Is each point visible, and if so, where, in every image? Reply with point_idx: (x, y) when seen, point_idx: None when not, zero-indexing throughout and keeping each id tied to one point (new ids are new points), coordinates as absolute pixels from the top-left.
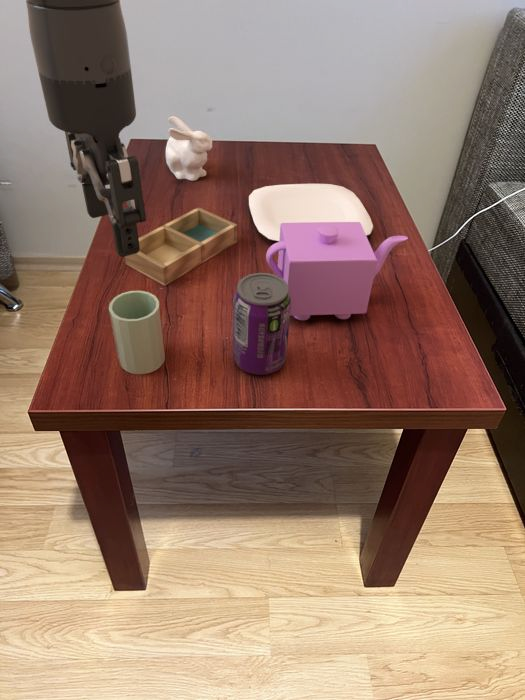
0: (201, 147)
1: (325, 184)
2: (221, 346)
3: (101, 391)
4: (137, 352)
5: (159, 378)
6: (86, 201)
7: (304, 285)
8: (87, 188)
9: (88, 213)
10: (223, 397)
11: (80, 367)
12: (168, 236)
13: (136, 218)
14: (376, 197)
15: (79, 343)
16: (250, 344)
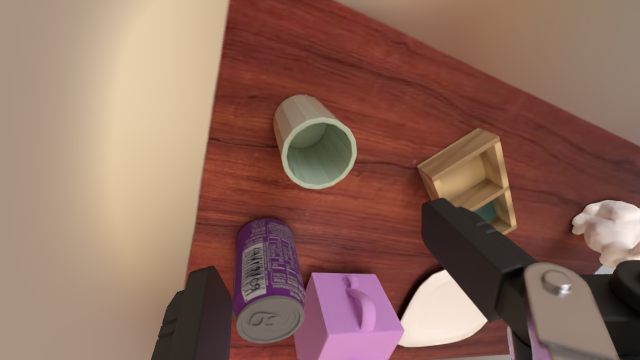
0: (608, 255)
1: (482, 325)
2: (295, 207)
3: (255, 63)
4: (276, 129)
5: (261, 137)
6: (461, 228)
7: (315, 317)
8: (491, 273)
9: (438, 201)
10: (215, 197)
11: (308, 40)
12: (490, 187)
13: None
14: (446, 348)
15: (356, 45)
16: (239, 258)
